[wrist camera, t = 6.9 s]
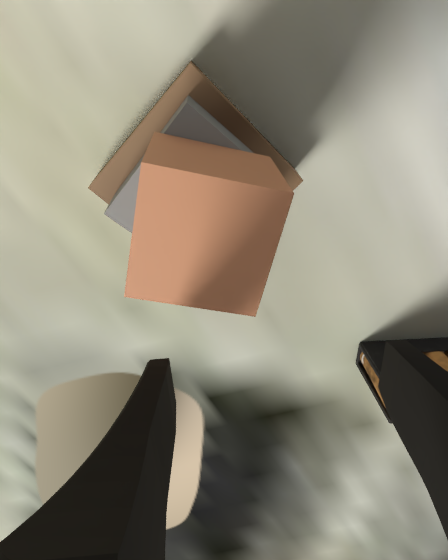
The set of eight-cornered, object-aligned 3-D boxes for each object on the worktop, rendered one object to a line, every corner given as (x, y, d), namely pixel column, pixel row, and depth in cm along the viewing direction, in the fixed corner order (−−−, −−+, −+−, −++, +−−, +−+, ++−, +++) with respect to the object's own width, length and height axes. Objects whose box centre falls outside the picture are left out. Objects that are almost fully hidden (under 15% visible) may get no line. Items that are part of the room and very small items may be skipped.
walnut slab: (292, 166, 21) (303, 180, 19) (201, 255, 24) (201, 277, 22) (191, 60, 19) (190, 62, 17) (99, 172, 21) (87, 187, 19)
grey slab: (282, 178, 19) (293, 195, 17) (207, 260, 21) (207, 286, 19) (188, 94, 17) (186, 102, 15) (114, 194, 19) (103, 213, 17)
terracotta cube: (269, 156, 16) (293, 193, 12) (242, 258, 18) (255, 316, 14) (154, 131, 15) (141, 161, 12) (139, 240, 18) (124, 296, 14)
